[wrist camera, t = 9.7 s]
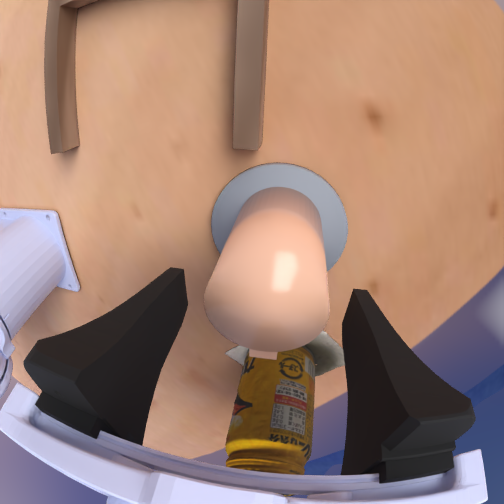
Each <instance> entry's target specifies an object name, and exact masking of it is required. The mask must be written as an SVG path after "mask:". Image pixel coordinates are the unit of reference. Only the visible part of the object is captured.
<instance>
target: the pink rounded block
mask: <svg viewBox="0 0 504 504" xmlns="http://www.w3.org/2000/svg"><path fill="white" fill-rule="evenodd" d="M204 307H205V311H206V314H207V316H208V318H209V320H210V322H211V323H212V325H213V326H214V327H215V328H216V329H217V331H219V332H220V333H221V334H222V335H223V336H224V337H226V338H227V339H229V340H230V341H232V342H234V343H236V344H238V345H240V346H243V347H246V348H249V356H250V357H257V358H265V359H273V360H276V359H277V353H278V352H281V351H288V350H292V349H296V348H299V347H301V346H304V345H306V344H307V343H309V342H311V341H312V340H314V339H315V338H316V337H317V336H318V335H319V334H320V333H321V332H322V331H323V329H324V328H325V326H326V324H327V322H328V319H329V314H330V304H329V291H328V279H327V268H326V258H325V248H324V239H323V231H322V222H321V217H320V214H319V211H318V209H317V208H316V206H315V205H314V203H313V202H312V201H311V200H310V199H309V198H308V197H307V196H305V195H304V194H302V193H301V192H299V191H297V190H294V189H291V188H286V187H270V188H266V189H263V190H260V191H258V192H256V193H255V194H253V195H252V196H251V197H249V198H248V199H247V201H246V202H245V203H244V204H243V206H242V208H241V210H240V212H239V214H238V217H237V219H236V221H235V223H234V226H233V228H232V230H231V232H230V235H229V237H228V239H227V241H226V244H225V246H224V248H223V250H222V253H221V255H220V257H219V260H218V262H217V264H216V266H215V269H214V271H213V273H212V276H211V278H210V280H209V283H208V285H207V287H206V290H205V294H204Z"/></svg>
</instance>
